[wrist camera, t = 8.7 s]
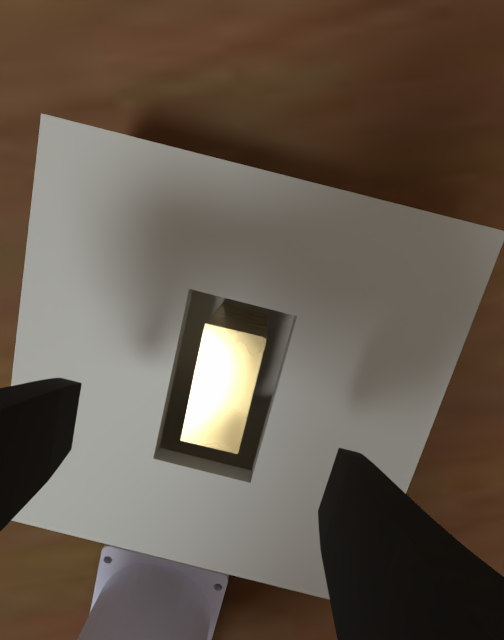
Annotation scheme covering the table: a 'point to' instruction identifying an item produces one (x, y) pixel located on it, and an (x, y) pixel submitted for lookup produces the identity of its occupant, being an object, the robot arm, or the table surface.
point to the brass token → (225, 378)
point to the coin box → (186, 334)
